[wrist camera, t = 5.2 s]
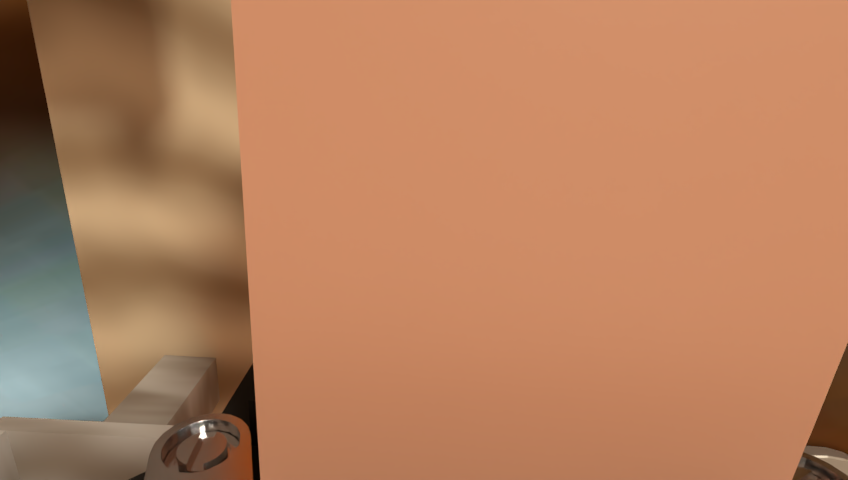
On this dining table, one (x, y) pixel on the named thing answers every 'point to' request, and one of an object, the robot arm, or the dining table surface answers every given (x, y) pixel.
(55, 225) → the dining table surface
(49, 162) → the dining table surface
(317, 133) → the rail
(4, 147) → the dining table surface
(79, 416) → the dining table surface
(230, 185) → the cradle stand
